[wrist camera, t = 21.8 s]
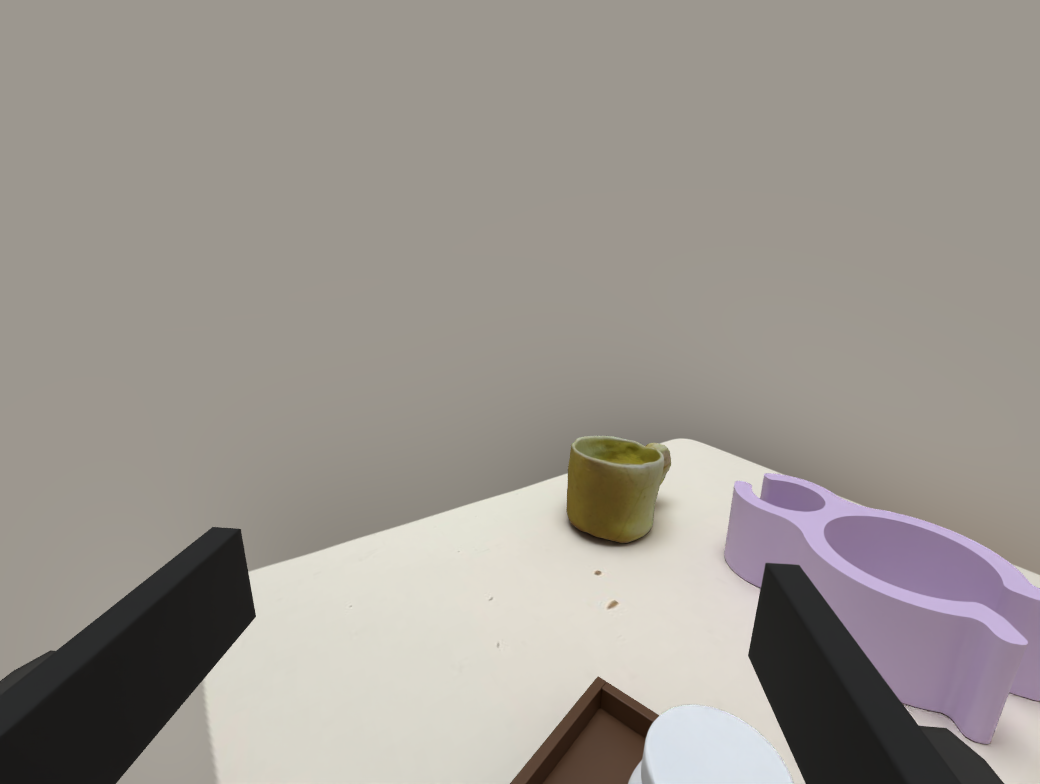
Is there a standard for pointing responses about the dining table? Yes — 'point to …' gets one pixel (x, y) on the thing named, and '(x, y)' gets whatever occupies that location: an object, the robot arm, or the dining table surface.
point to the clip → (901, 596)
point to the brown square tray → (593, 741)
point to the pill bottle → (707, 751)
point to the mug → (614, 486)
